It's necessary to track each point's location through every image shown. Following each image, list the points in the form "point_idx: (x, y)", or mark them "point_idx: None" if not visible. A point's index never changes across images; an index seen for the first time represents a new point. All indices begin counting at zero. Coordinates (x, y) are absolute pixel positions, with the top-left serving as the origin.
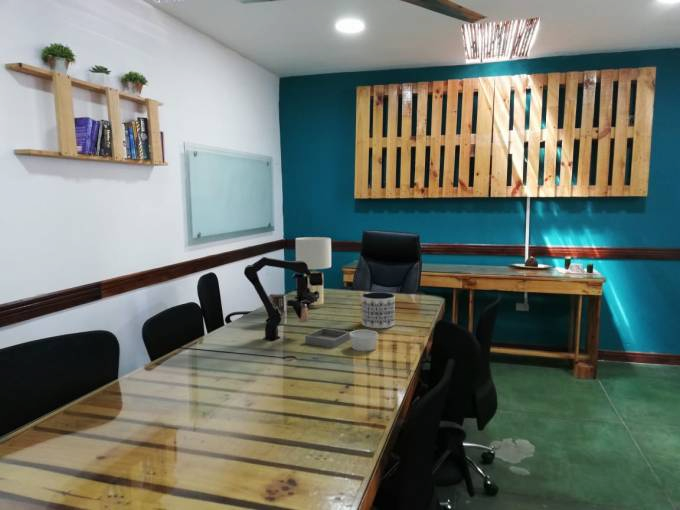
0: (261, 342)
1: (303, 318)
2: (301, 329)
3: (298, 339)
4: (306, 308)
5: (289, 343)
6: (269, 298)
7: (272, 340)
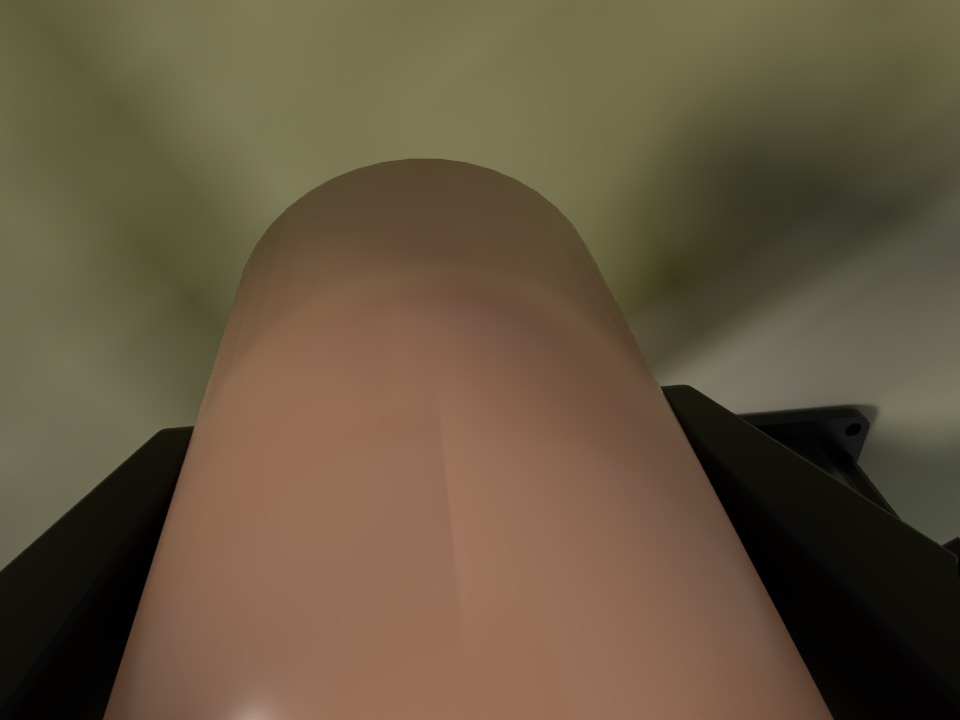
0: (947, 479)
1: (600, 286)
2: (31, 472)
3: (608, 114)
4: (527, 667)
5: (919, 97)
6: None
7: (863, 416)
